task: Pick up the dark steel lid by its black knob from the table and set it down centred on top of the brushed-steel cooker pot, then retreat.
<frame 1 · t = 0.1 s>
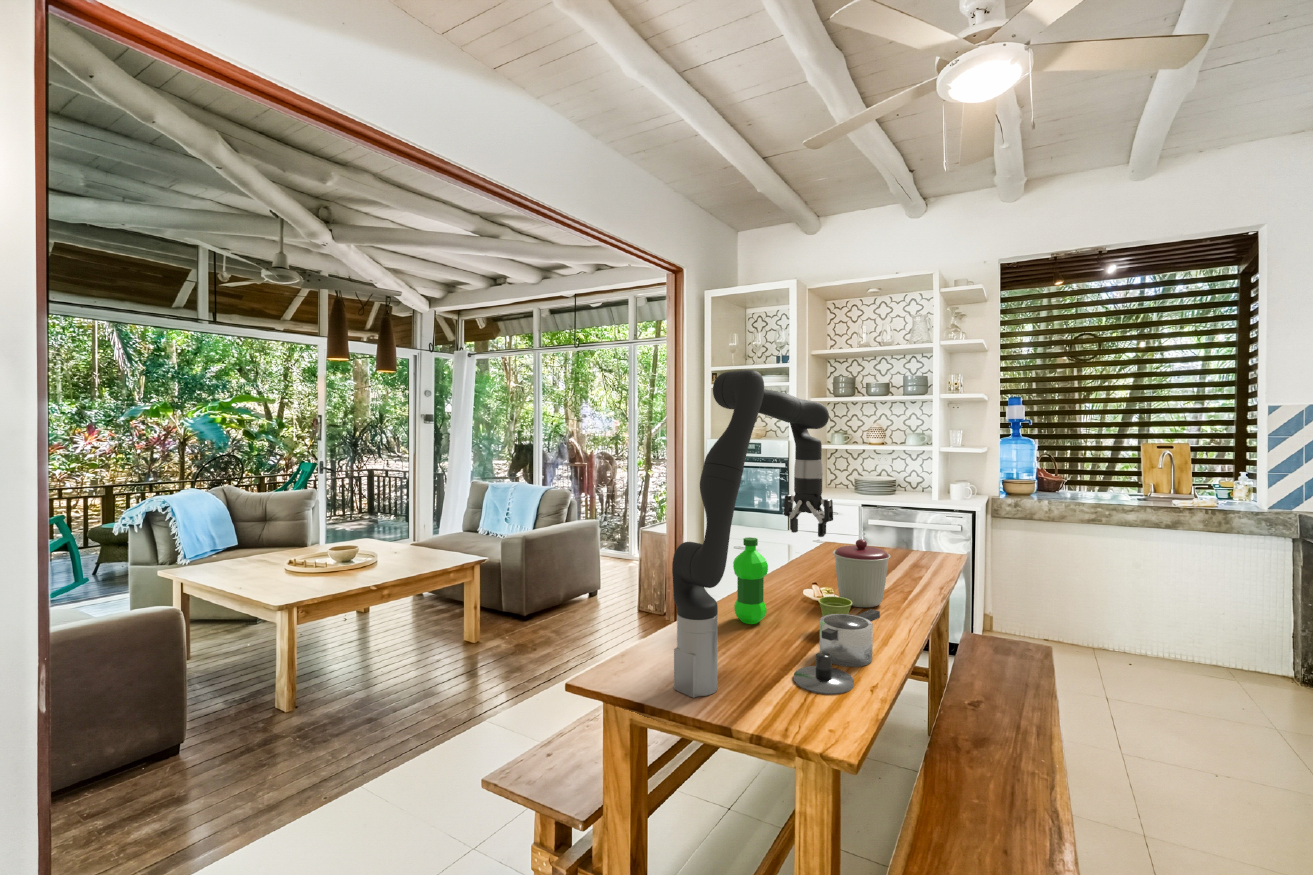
hand: (807, 534, 173), 29 cm above the table, fingers open, 8 cm apart
canister: (860, 603, 207), on the table
plant pot: (834, 631, 181), on the table
lid: (823, 682, 147), on the table
cooker pot: (845, 656, 162), on the table
plastic bottle: (750, 621, 189), on the table
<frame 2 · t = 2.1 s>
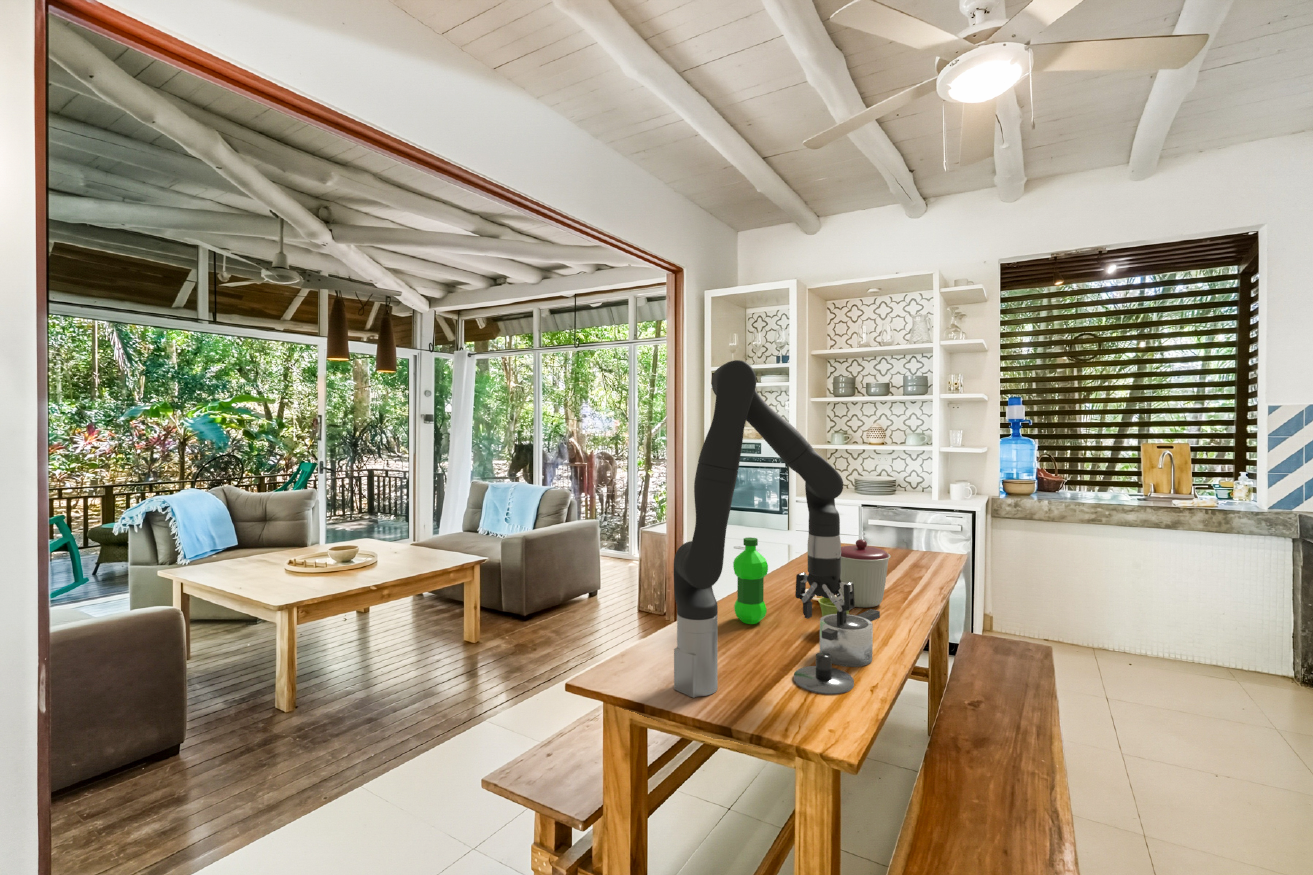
hand: (824, 621, 147), 14 cm above the table, fingers open, 8 cm apart
nothing on the table moved.
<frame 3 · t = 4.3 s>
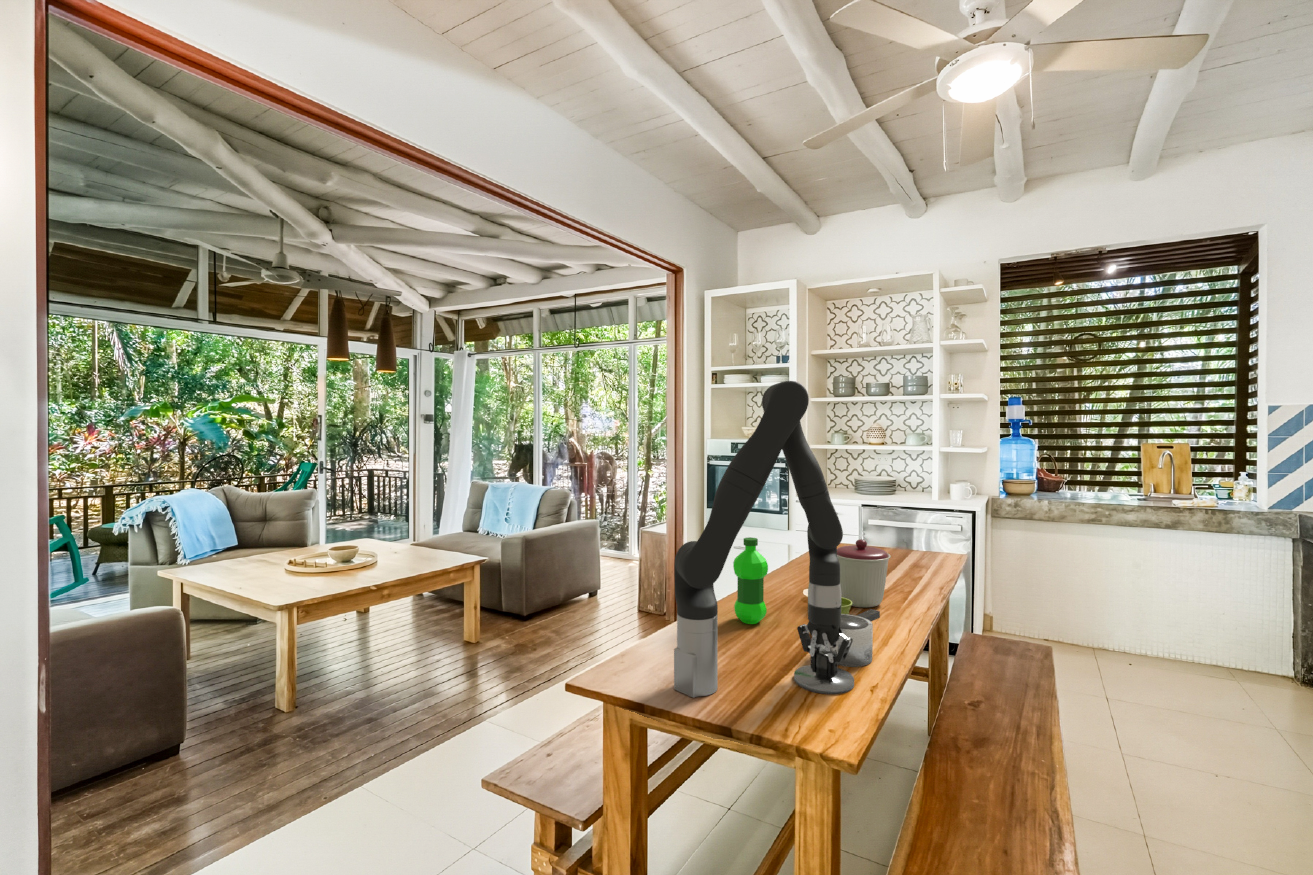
hand: (824, 673, 147), 2 cm above the table, fingers closed on lid, 3 cm apart
lid: (823, 681, 147), on the table, touching gripper
everything else where it was.
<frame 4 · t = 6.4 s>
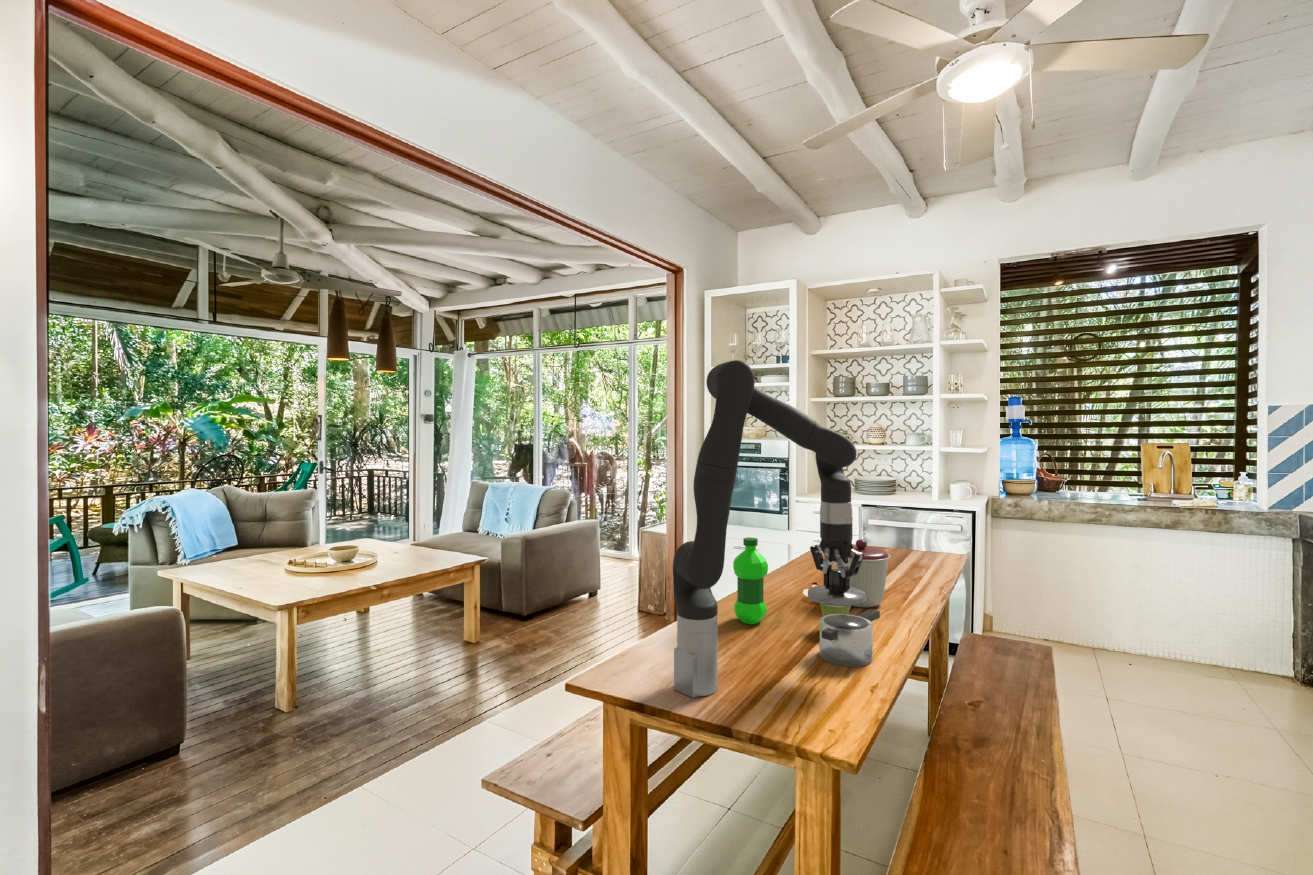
hand: (836, 589, 152), 20 cm above the table, fingers closed on lid, 3 cm apart
lid: (836, 597, 152), point 18 cm above the table, touching gripper
everything else where it was.
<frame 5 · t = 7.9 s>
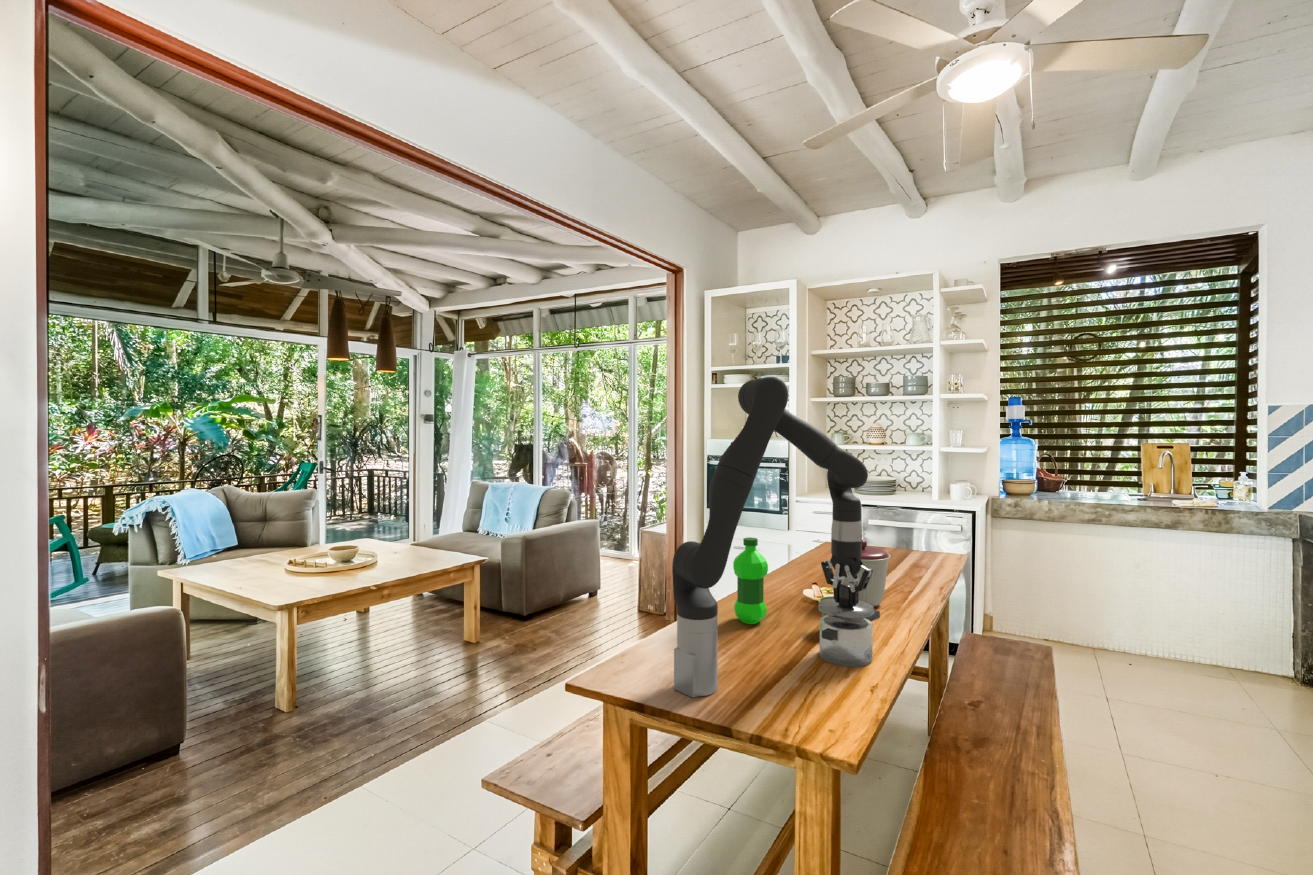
hand: (845, 603, 161), 14 cm above the table, fingers closed on lid, 3 cm apart
lid: (845, 610, 161), point 12 cm above the table, touching gripper
everything else where it was.
when the fingers open (13 cm above the table, at t = 8.8 s): lid drops 2 cm, resting on cooker pot.
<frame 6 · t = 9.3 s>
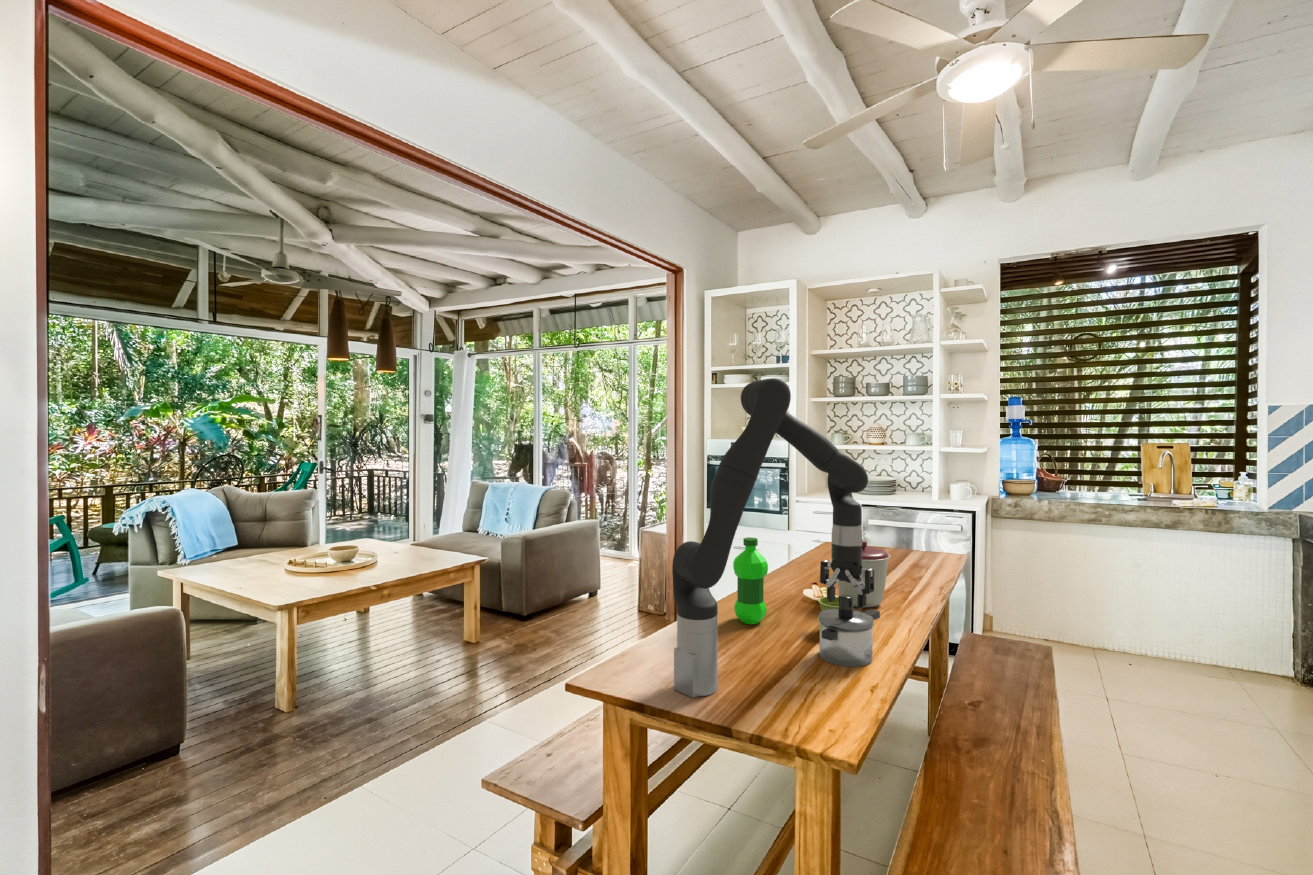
hand: (846, 604, 161), 14 cm above the table, fingers open, 8 cm apart
lid: (845, 621, 161), point 9 cm above the table, touching cooker pot
everything else where it was.
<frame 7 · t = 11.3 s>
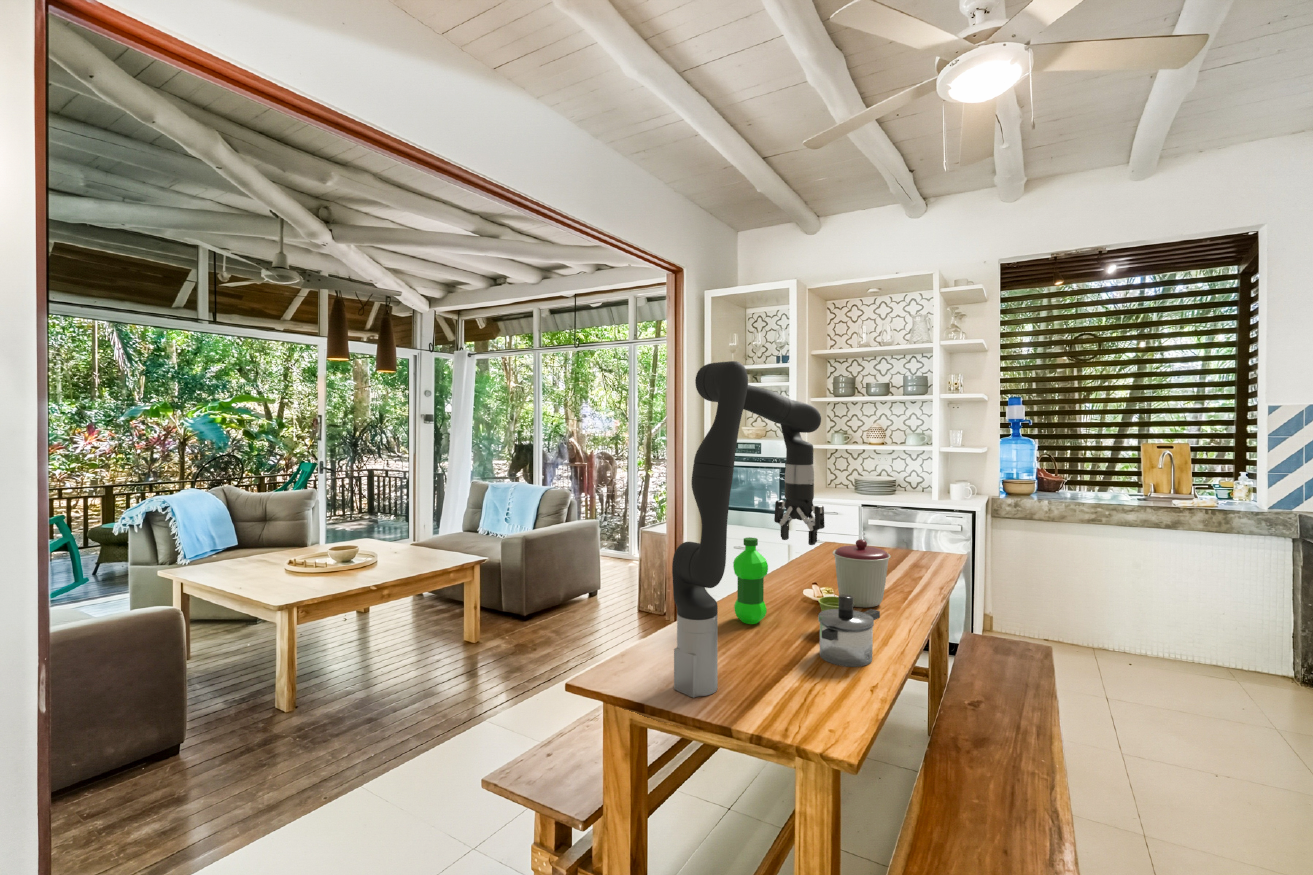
hand: (798, 542, 167), 28 cm above the table, fingers open, 8 cm apart
nothing on the table moved.
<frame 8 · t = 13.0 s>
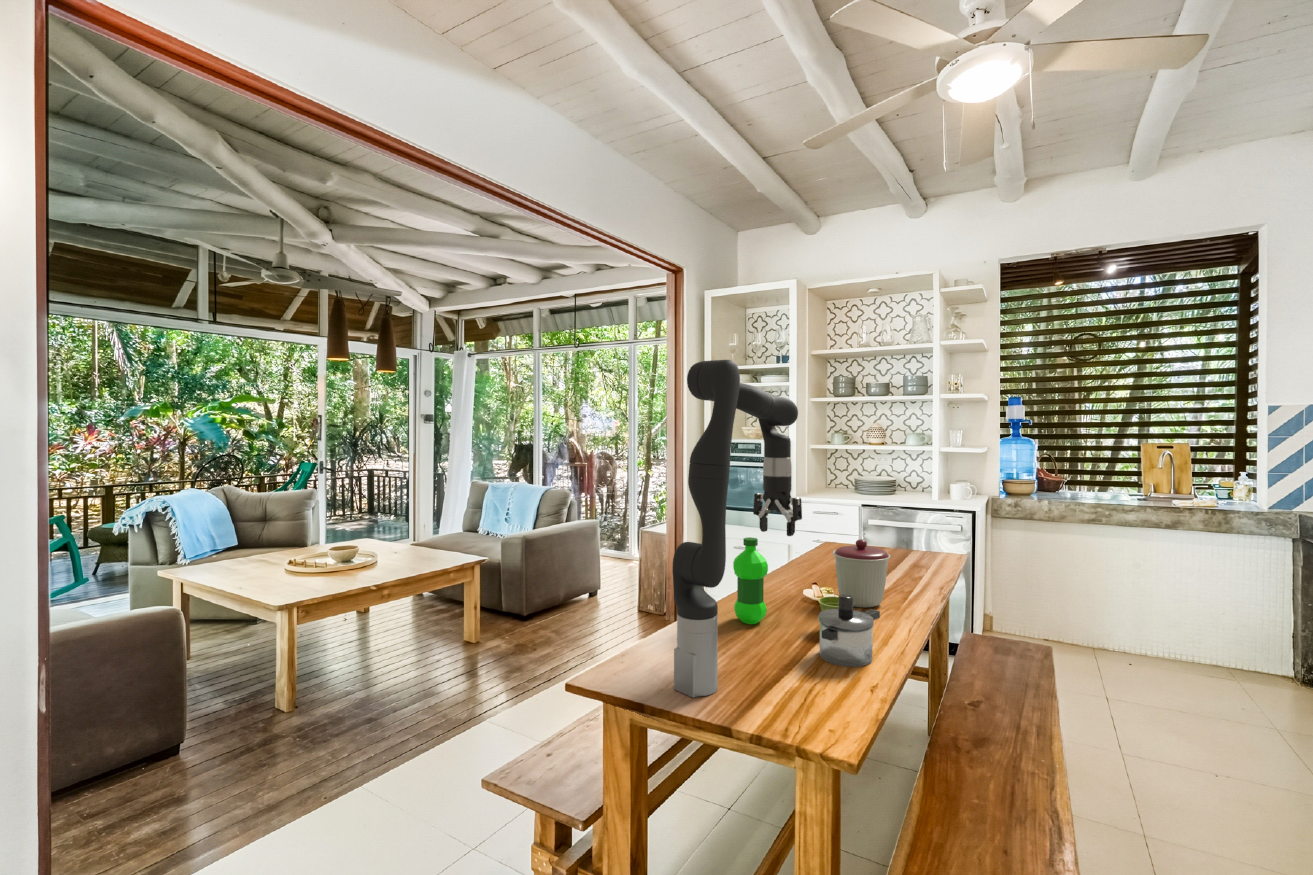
hand: (776, 533, 170), 30 cm above the table, fingers open, 8 cm apart
nothing on the table moved.
at the end: lid 0.1 cm off-centre on the cooker pot, point 9.1 cm above the cooker pot's base; lid tilted 0°; the gripper is holding nothing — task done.
